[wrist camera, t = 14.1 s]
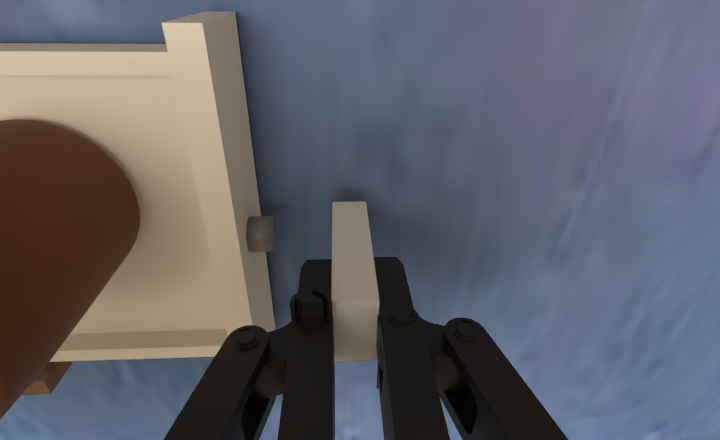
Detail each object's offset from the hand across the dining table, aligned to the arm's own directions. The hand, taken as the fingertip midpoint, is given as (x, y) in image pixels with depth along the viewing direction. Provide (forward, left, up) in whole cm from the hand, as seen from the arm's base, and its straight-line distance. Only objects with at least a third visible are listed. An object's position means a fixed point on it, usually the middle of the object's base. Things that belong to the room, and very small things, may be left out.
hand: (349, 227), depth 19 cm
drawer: (-8, -10, -3) cm, 13 cm away
